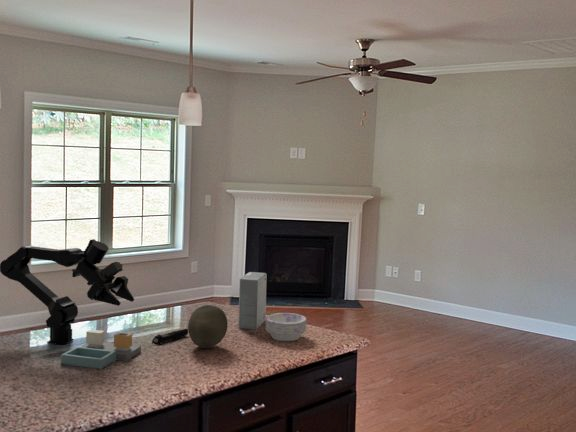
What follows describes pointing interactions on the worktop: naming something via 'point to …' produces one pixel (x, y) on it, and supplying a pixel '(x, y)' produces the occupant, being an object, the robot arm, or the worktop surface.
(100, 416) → the worktop surface
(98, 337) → the block
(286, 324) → the paper bowls
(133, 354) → the block
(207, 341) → the cantaloupe
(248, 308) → the hard drive box
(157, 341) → the electric trimmer
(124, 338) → the block
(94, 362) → the parts tray
